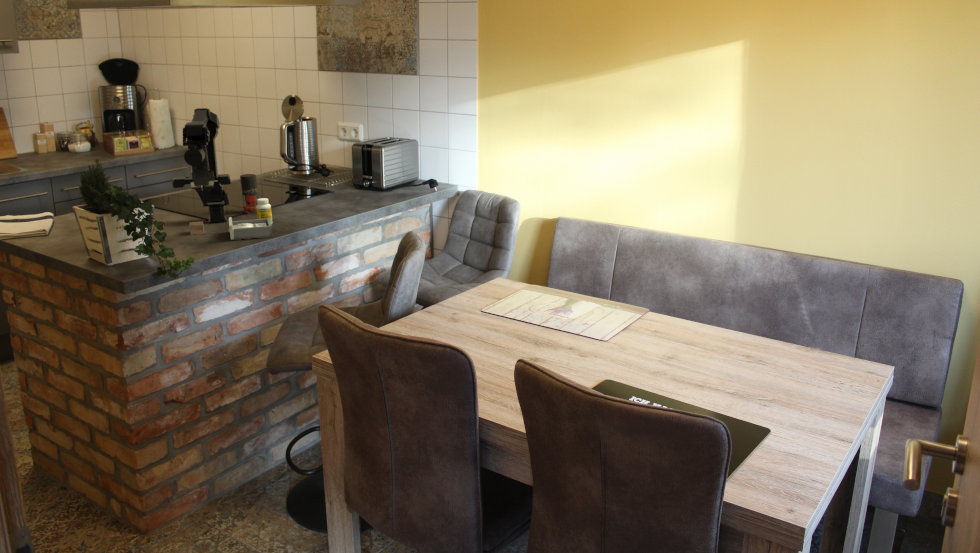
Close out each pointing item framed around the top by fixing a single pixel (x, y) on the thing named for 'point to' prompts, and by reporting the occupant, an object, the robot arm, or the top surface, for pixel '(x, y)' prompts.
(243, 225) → the disc
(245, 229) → the housing
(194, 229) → the pedestal
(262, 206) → the supplement bottle
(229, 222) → the tray
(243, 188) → the deodorant
